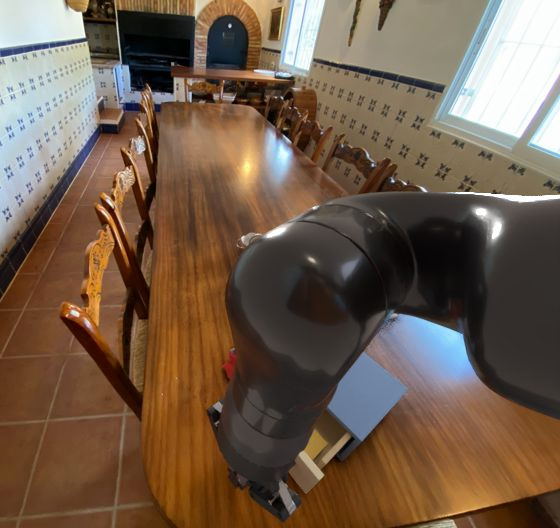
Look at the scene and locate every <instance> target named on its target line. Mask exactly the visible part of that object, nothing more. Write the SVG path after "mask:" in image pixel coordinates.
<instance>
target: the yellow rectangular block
mask: <svg viewBox="0 0 560 528" xmlns="http://www.w3.org/2000/svg"><path fill="white" fill-rule="evenodd" d="M327 445H328V443H327V442H326V441H325V440H324V439H323V438H322V437H321V436H320V434H319V433H318V432H317V431H316V430H315V429H314V431H313V434H312V436H311V437H310V439H309V443H308V445H307V446H306V448H305V450H304V451H305V453H306V454H307V455H308V456H309V457H310V459H311V460H312V461H313V460H314V459H315V458H316V457H317V456H318V455H319V454H320V453H321V452H322V451H323V450H324V448H325V447H326V446H327Z"/></svg>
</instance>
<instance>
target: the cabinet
mask: <svg viewBox="0 0 560 528" xmlns="http://www.w3.org/2000/svg"><path fill="white" fill-rule="evenodd" d="M408 391H409V388H408V386H406V385H405V384H403V383H402V382H401V381H400V380H399V379H397V378H396V377H395V376H394V375H392V374H391V373H390V372H389V371H388V370H387V369H385V368H384V367H382V366H381V365H380V364H378V362H376V361H375V360H374V359H372V358H371V357H370V356H369V355H368V354H366V353H365V351H364V352H363V353H362V354H361V356H360V357H359V358H358V359H357V361H356V362H355V363H354V364H353V366H352V367H351V368H350V370H349V371H348V372H347V373H346V375H345V376H344V377H343V378H342V380H341V381H340V382H339V384H338V388H337V390H336V393H335V395H334V397H333V399H332V401H331V402H330V404H329V405H328V407H327V409H326V410H327V411H328V412H329V413H330V414H331V415H332V416H333V417H334V418H335V419H336V420H337V421H338V422H339V423H340V424H341V425H342V426H343V427H344V428H345V429H346V430H347V431H348V432H349V433H350V434H351V435H352V437H351V438H350V439H349V440H348V441H347V442H346V443H345V444H344V446H343V447H342V448H341V449H340V450H339V451H338V452H337V453H336V454H335V455H334V456H335V457H337V459H338V460H340V462H341V463H342V462H344V460H345V459H347V458H348V456H350V455H351V454H352V452H353V451H355V449H356V448H357V447H359V446H360V444H361V443H363V442H364V440H365V439H367V437H368V436H369V435H370V433H371V432H372V431H373V430H374V429H376V427H377V425H378V424H379V423H380V422H382V420H383V419H384V418H385V417H386V416H387V414H388V413H389V412H390V411H391V410H392V409H393V407H394V406H395V405H396V404H397V403H398V402H399V401H400V400H401V399H402V397H404V395H405V394H406V393H407V392H408Z"/></svg>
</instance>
